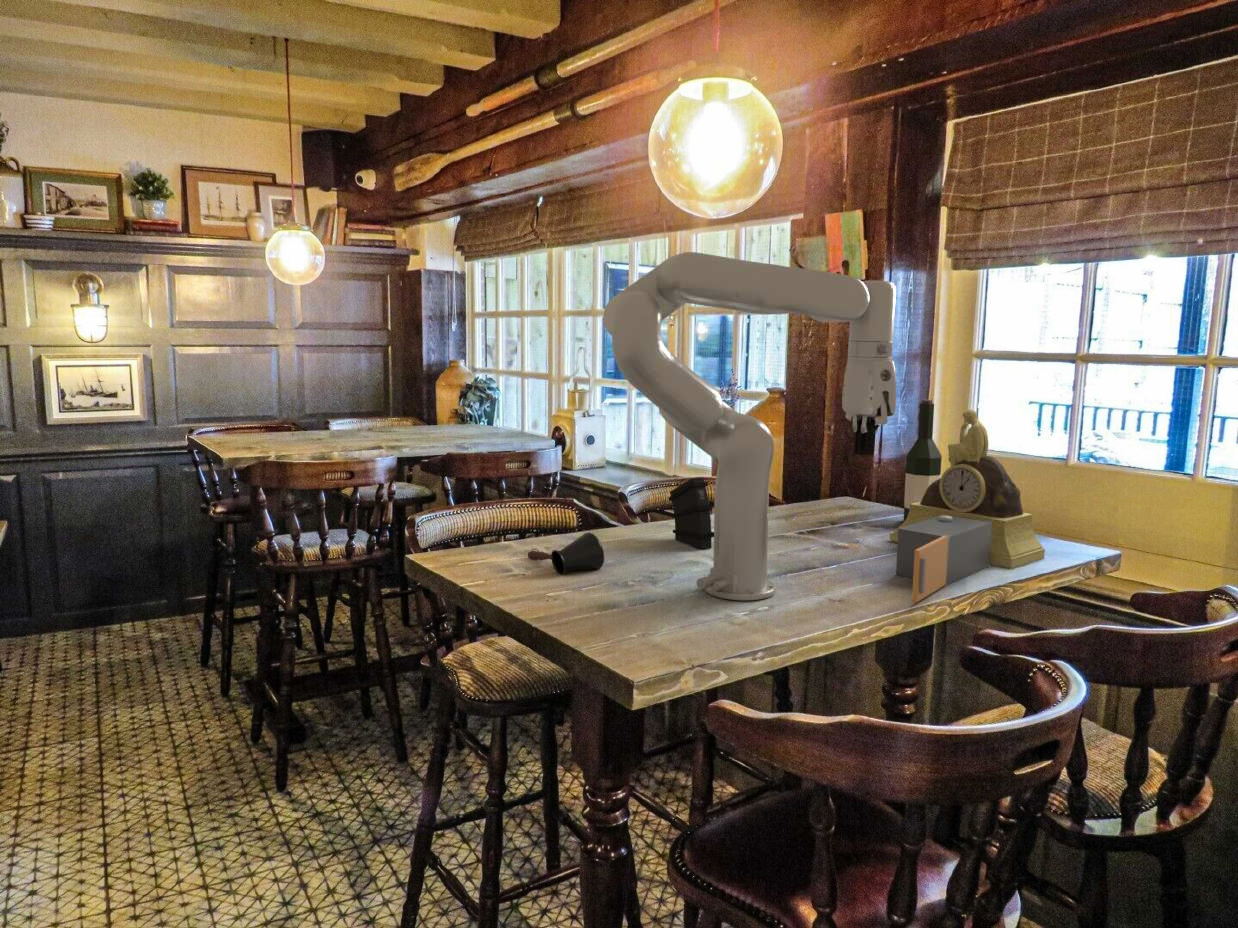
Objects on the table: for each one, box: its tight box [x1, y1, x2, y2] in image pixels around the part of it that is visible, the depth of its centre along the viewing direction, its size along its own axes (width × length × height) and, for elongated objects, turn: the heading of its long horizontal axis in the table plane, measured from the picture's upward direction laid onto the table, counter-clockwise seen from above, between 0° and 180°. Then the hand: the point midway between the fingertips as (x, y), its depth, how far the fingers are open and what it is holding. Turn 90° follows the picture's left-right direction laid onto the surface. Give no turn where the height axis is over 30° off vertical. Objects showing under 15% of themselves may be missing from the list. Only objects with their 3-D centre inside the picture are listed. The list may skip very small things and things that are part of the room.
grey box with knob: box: [895, 515, 992, 586], centre depth 168 cm, size 20×10×10 cm, turn 133°
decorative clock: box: [889, 408, 1046, 569], centre depth 182 cm, size 28×13×30 cm, turn 37°
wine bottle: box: [902, 399, 943, 524], centre depth 205 cm, size 8×8×30 cm
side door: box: [911, 535, 950, 603], centre depth 151 cm, size 2×14×9 cm, turn 140°
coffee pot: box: [527, 532, 605, 576], centre depth 172 cm, size 8×18×8 cm
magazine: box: [668, 476, 714, 551], centre depth 189 cm, size 4×13×15 cm, turn 27°
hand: (863, 454), depth 155 cm, fingers closed
